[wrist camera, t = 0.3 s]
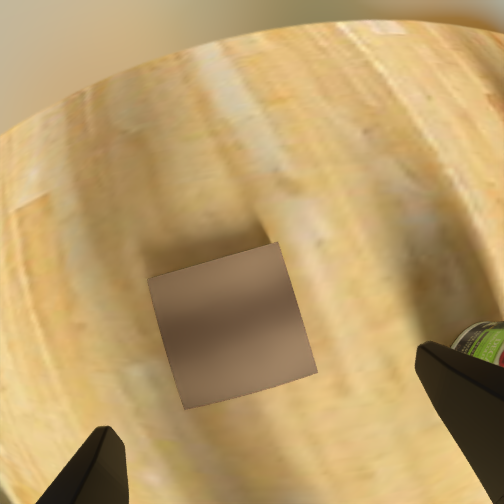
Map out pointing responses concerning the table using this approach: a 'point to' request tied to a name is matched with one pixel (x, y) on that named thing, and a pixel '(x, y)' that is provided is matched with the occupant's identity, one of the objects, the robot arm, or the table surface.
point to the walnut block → (231, 326)
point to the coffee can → (483, 342)
